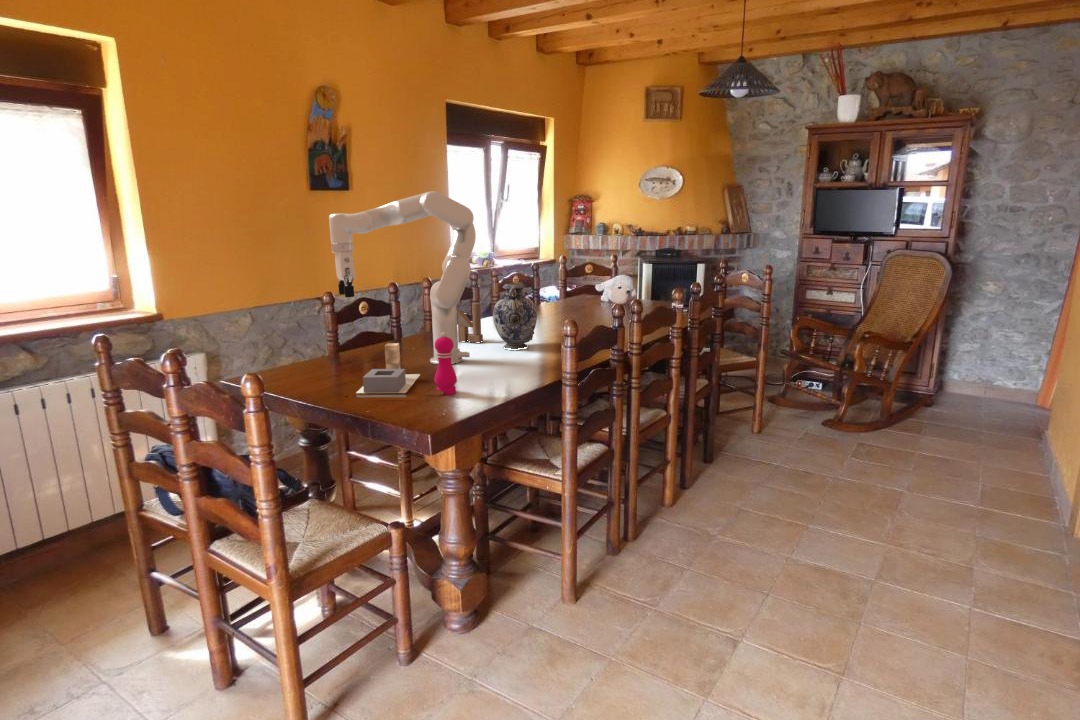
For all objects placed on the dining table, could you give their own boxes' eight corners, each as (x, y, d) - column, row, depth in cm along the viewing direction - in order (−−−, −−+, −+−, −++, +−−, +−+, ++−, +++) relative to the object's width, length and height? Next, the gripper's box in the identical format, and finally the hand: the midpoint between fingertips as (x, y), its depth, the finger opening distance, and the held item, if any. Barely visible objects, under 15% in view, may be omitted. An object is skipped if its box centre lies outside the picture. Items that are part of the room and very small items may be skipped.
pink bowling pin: (442, 389, 213) (439, 329, 209) (461, 391, 211) (459, 330, 206) (430, 394, 207) (427, 333, 202) (450, 396, 204) (447, 334, 200)
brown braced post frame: (462, 340, 294) (460, 301, 290) (483, 342, 290) (482, 302, 286) (458, 342, 290) (456, 302, 286) (479, 343, 286) (478, 303, 282)
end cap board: (420, 378, 228) (419, 360, 226) (406, 397, 204) (404, 377, 203) (375, 378, 228) (374, 360, 226) (355, 397, 204) (354, 377, 203)
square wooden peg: (401, 377, 223) (399, 343, 221) (398, 380, 220) (396, 345, 217) (389, 377, 223) (387, 343, 221) (386, 380, 220) (384, 345, 217)
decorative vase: (536, 353, 266) (534, 285, 260) (491, 353, 267) (489, 286, 261) (538, 343, 287) (537, 280, 280) (497, 343, 287) (494, 280, 281)
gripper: (358, 249, 227) (362, 297, 231) (347, 247, 241) (351, 292, 245) (337, 250, 223) (341, 299, 227) (327, 247, 238) (331, 294, 242)
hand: (346, 295), depth 236 cm, fingers open, 9 cm apart
